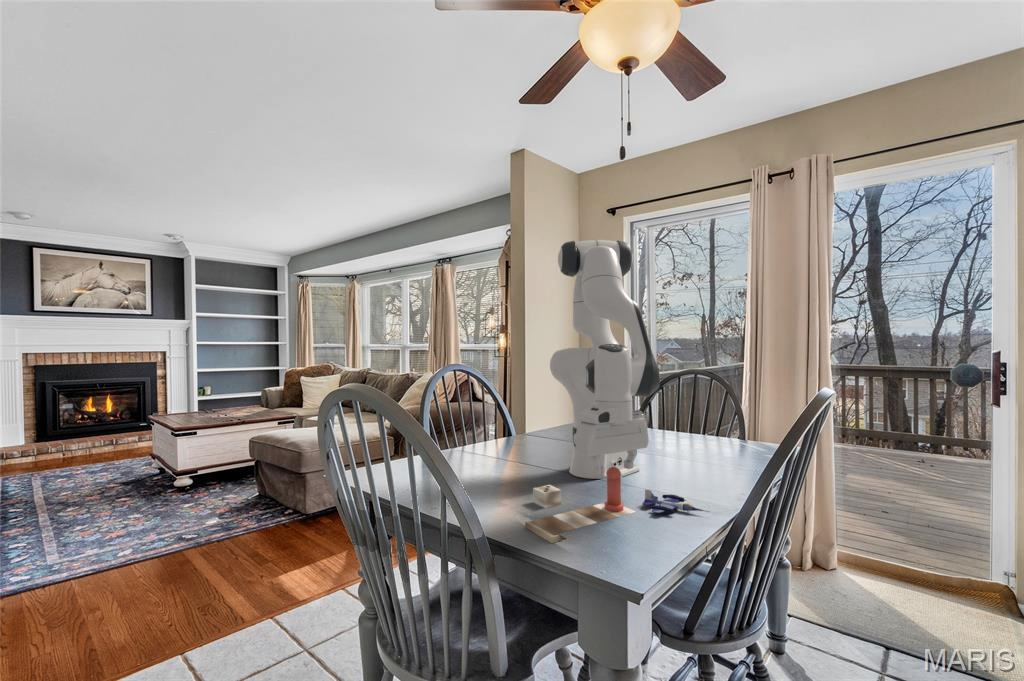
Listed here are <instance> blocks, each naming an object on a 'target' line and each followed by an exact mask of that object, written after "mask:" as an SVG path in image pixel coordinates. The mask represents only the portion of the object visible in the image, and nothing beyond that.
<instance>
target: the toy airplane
mask: <svg viewBox="0 0 1024 681" xmlns="http://www.w3.org/2000/svg"><path fill="white" fill-rule="evenodd" d="M661 498H663V500H658V499H659V497H658V496H655V495H654V493H653V492H652V491H651V490H649V489H645V490H644V501H643V502H642V503H641V504H642V505H644V506H651V507H650V508H651V513H654V514H669V515H674V514H675V513H676V512H679V510H681V511H683V512H684V511H685V512H687V513H689V512H693V511H697V512H700V511H701V512H708V513H710V511H709V510H708V511H707V510H703V509H701V508H699V507H698V508H697V507H695V506H694V505H693V504H691V503H688V502H685V501H687V500H686V499H685V498H684V497H682V496H678V495H676V494H662V497H661ZM684 502H685V503H684ZM654 504H656V505H654ZM712 512H713V513H714V511H712Z"/></svg>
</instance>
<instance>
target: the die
mask: <svg viewBox="0 0 1024 681" xmlns="http://www.w3.org/2000/svg"><path fill="white" fill-rule="evenodd" d="M532 503H533V504H535V505H537V506H539V507H541V508H544V509H547V508H551V507H554V506H555V507H556V506H559V505H562V489H561V488H558V487H555V486H554V485H552V484H547V485H542V486H537V487H532Z"/></svg>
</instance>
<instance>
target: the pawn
mask: <svg viewBox="0 0 1024 681" xmlns="http://www.w3.org/2000/svg"><path fill="white" fill-rule="evenodd" d="M606 475H607V478H606V501H605V502H604V503H605V509H606V510H607V511H611V512H620V511H623V510H624V507H625V506H624V502H622V489H621V488H622V486H621V484H622V480H621V478H622V477H621V472H620V470H619V469H618V468H616V467H610V468H609V469H608V470H607V473H606Z"/></svg>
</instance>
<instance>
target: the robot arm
mask: <svg viewBox="0 0 1024 681" xmlns="http://www.w3.org/2000/svg"><path fill="white" fill-rule="evenodd" d="M633 260H634V255H633V251H632V247H631V245H630V244H629V243H628V242H626V241H621V240H616V241H614V240H608V239H595V240H592V239H591V240H580V241H575V240H570V241H566V242H564V243H563V244H562V245H561V246H560V249H559V252H558V255H557V264H558V267H559V269H560V273H561V274H563V275H564V276H568V277H571V278H574V277H575V282H574V287H573V297H572V298H573V299H572V325H573V329H574V331H576V333H578V334H580V335H581V336H583V337H585V338H588V339H589V340H591V343H592V346H591V347H568V348H562V349H559V350H556V351H555V352H554V353H553V354H552V356H551V358H550V361H549V362H550V363H549V369H550V372H551V375H552V376H553V378H554V379H555V380H556V381H558V383H560V384H561V385H562V386H563V387H564V388H565V390H566V391H567V393H568V394H569V396H570V399H571V404H572V413H573V427H572V441H573V448H572V457H571V464H570V467H569V471H568V472H569V473H570V475H572V476H575V477H578V478H583V479H594V480H595V479H596V480H597V479H599V480H603V479H607V475H606V473H607V470H608V469H609V468H610V467H616V468H618V469H619V470H620V472H621V477H620V478H623V477H625V476H628V475H631V474H633V473H636V472H639V471H640V467H639V465H636V464H634V462H635V460H636V457H637V455H638V450H642V449H647V448H648V445H649V441H650V440H649V439H650V438H649V431H648V424H647V421H646V414H645V413H644V412H643V411H641V410H639V409H636V410H634V409H633V396H634V397H638V398H639V397H640V398H648V397H650V396H651V395H653V394H654V393H655V392H656V391H657V390H658V389H659V388H660V385H661V374H660V371H659V367H658V364H657V361H656V358H655V356H654V353H653V351H652V350H653V349H652V347H651V343H650V340H649V337H648V334H647V329H646V325H645V322H644V319H643V315H642V313H641V309H640V307H639V305H638V303H637V301H635V300H633V299H632V298H630V296H628V294H627V292H626V290H625V288H624V285H623V284H624V282H623V277H624V276H626V274H628V273H629V271H631V269H632V266H633ZM611 321H612V322H615V323H616V324H618V325H620V326H622V327H623V328H624V329H625V330H626V331H627V333H628V337H629V340H630V344H631V347H632V352H633V356H634V357H633V356H632V355H631V353H630V349H629V347H628V346H626V345H624V344H619V342H618V341H617V339H616V338H615V337H614V334H613V333H612V329H611V324H610V323H611Z"/></svg>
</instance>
